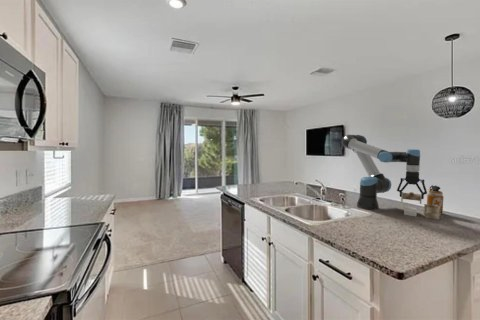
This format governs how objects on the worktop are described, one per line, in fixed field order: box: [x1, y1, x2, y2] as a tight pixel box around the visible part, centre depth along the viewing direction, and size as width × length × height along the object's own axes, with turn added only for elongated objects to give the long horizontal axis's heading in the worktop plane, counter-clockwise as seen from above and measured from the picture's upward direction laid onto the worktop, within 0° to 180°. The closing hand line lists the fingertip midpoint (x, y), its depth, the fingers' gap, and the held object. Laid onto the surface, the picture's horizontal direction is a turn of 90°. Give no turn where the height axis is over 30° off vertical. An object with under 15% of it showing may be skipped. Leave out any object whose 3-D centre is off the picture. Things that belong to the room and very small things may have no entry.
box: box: [423, 203, 442, 220], centre depth 162 cm, size 8×11×7 cm
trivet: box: [403, 206, 418, 217], centre depth 169 cm, size 7×13×3 cm, turn 145°
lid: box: [403, 191, 422, 202], centre depth 169 cm, size 10×13×4 cm
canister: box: [426, 184, 444, 215], centre depth 172 cm, size 9×11×20 cm
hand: (411, 202), depth 169 cm, fingers closed on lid, 10 cm apart
